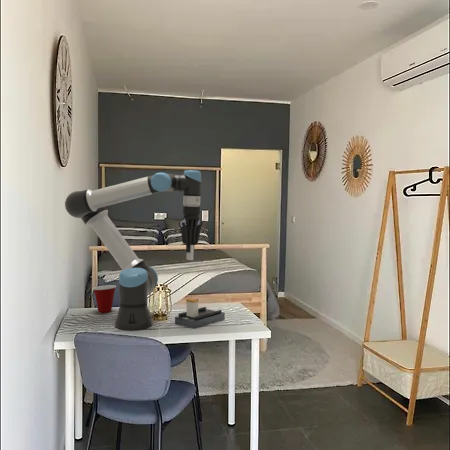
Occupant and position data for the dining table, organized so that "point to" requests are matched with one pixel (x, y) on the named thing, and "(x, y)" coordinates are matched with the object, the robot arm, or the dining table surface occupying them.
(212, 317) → the switch panel
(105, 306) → the plastic cup
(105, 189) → the robot arm
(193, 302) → the switch knob
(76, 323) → the dining table surface
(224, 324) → the dining table surface
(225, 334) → the dining table surface
